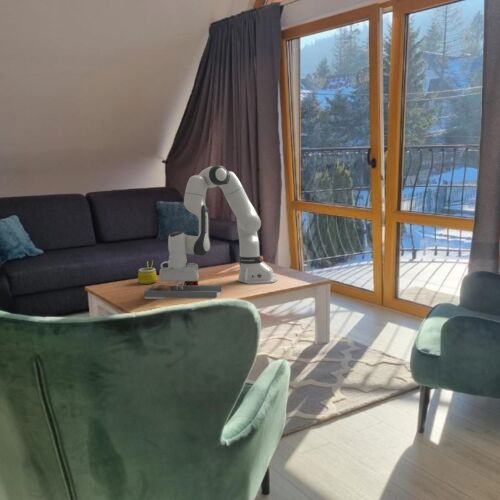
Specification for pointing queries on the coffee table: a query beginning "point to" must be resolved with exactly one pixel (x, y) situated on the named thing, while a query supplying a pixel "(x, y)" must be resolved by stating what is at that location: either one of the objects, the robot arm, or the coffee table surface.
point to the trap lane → (184, 292)
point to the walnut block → (161, 288)
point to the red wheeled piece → (191, 283)
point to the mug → (147, 275)
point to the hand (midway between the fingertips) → (179, 289)
